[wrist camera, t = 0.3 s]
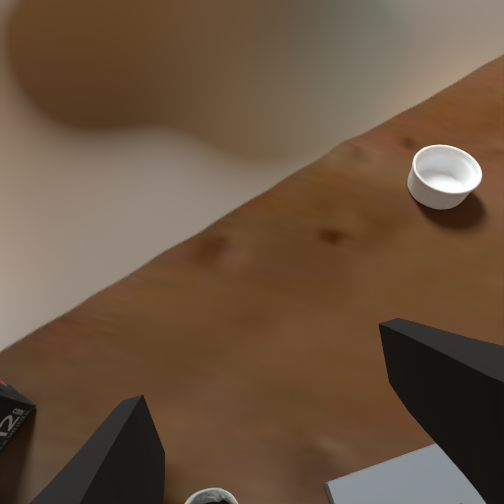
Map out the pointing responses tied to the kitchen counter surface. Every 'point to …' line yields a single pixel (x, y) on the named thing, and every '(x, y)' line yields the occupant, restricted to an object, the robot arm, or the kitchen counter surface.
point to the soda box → (12, 412)
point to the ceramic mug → (211, 496)
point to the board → (406, 482)
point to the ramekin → (443, 176)
